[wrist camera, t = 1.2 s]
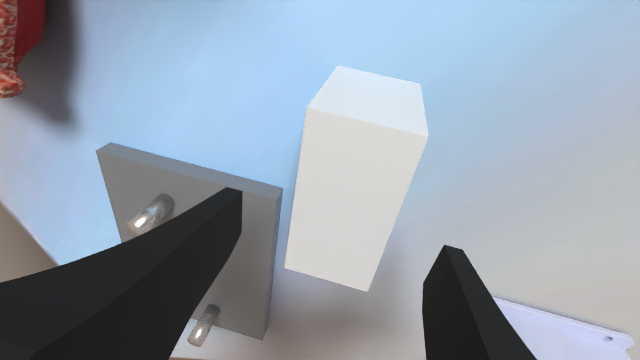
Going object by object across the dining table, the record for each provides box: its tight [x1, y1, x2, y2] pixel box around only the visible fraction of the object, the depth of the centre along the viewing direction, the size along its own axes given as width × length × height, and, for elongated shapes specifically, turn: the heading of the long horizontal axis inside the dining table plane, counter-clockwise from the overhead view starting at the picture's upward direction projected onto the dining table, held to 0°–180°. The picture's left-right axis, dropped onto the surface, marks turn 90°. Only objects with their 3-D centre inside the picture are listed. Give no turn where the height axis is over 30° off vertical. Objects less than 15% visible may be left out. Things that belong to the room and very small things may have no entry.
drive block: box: [284, 66, 429, 292], centre depth 15 cm, size 4×8×6 cm, turn 170°
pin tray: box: [96, 143, 283, 347], centre depth 23 cm, size 12×16×4 cm
